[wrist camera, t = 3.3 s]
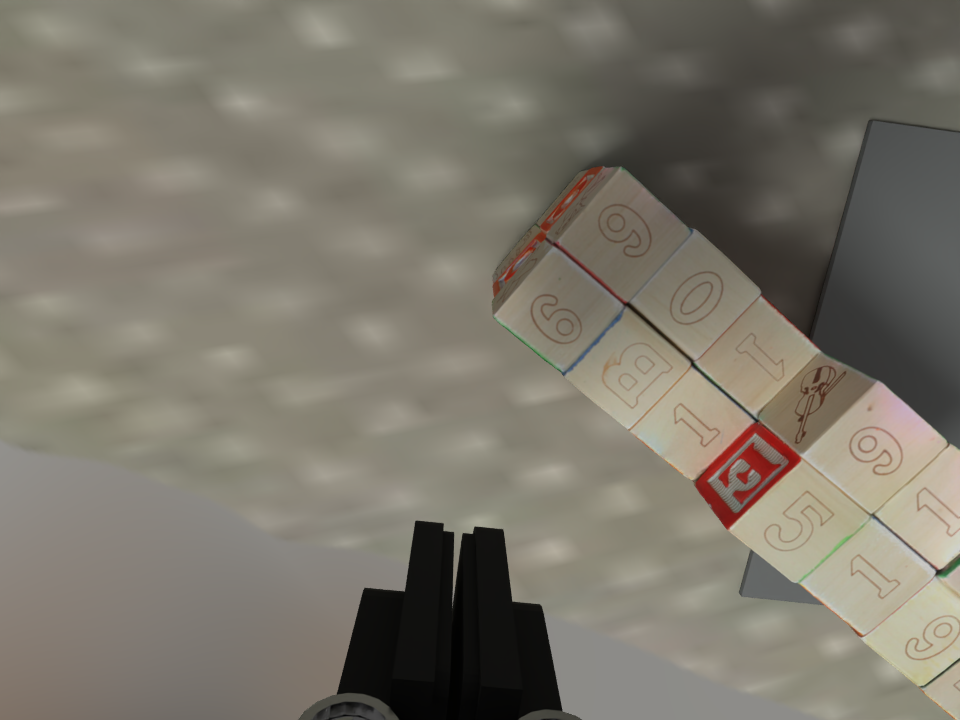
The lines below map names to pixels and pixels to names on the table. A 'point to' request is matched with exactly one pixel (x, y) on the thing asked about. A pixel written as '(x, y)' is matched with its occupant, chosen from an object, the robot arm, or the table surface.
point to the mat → (893, 290)
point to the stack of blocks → (749, 415)
